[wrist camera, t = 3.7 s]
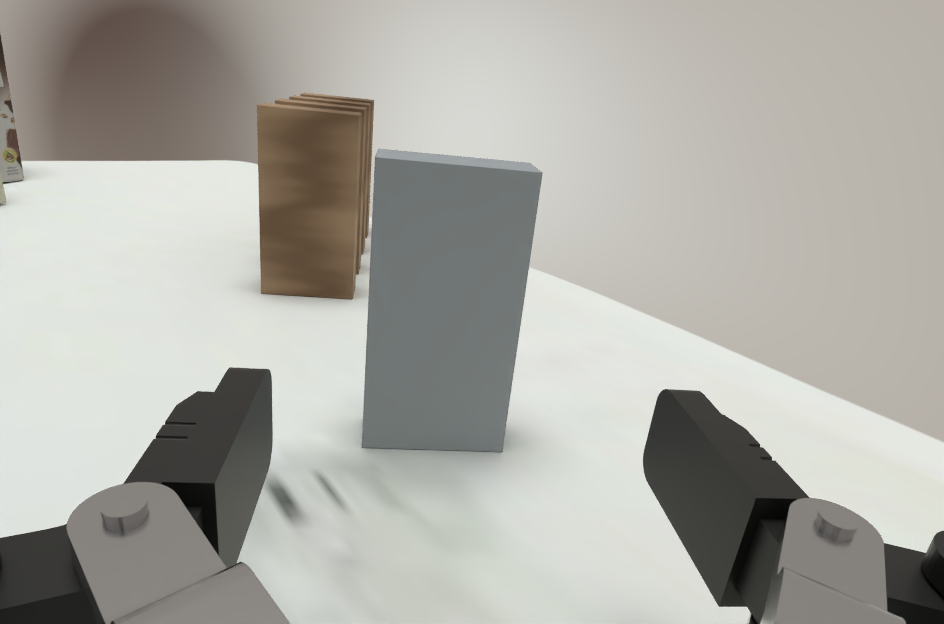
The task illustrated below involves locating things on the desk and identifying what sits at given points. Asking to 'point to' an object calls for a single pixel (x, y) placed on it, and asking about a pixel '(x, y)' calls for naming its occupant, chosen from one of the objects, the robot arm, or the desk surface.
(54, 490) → the desk surface
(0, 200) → the skincare box
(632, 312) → the desk surface
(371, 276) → the grey domino
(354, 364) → the desk surface
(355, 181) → the walnut domino
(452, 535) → the desk surface
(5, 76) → the coffee box
